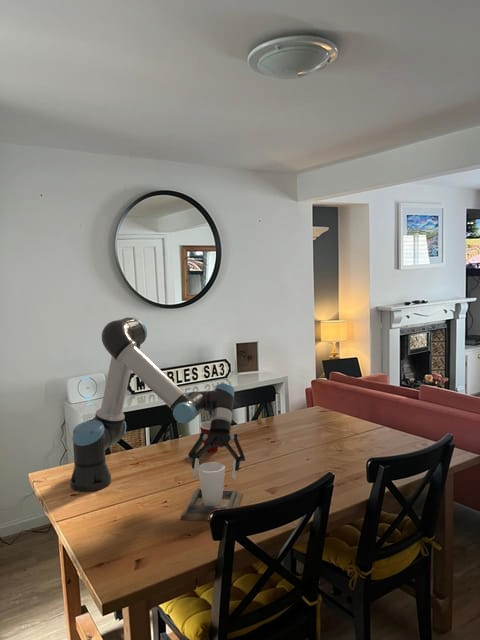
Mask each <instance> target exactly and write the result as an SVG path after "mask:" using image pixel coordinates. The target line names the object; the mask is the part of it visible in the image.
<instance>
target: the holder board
mask: <svg viewBox="0 0 480 640" xmlns="http://www.w3.org/2000/svg"><path fill="white" fill-rule="evenodd" d="M243 496H244V492H243V491H238V490H237V489H225V488H223V495H222V504H221V505H220V506H205V505H204V503H203V498H202V492H201V487H200V488H196V490H195V489H194V490H193V491H192V494H191V496H190V498H189V500H188V501H187V503H186V505H185V507H184V509H183V511H182V513H181V514H180V520H182V521H201V522H203V521H205V522H207V521H208V518H209V515H210V513H211V512H212V511H214V510H217V509H226V508H233V507H239V508H240V506H241V502H242V499H243ZM208 522H209V521H208Z"/></svg>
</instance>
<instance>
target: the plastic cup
mask: <svg viewBox="0 0 480 640" xmlns="http://www.w3.org/2000/svg"><path fill="white" fill-rule="evenodd" d="M210 424H211V420H209V421H202V422H200V423H199V428H200V433H203V434H206V435H208V434H209V431H210ZM207 441H208V438H207V439H206V440H205V441H203V443H202V444H203V446H204V445H205V444H206V442H207ZM218 450H219V447H214V446H212V447H211V448H209V449H208V450H207V451H206V452H207V453H214V452H217V451H218Z"/></svg>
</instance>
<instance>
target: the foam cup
mask: <svg viewBox="0 0 480 640" xmlns="http://www.w3.org/2000/svg"><path fill="white" fill-rule="evenodd" d="M225 475H226V466H225V464H223V463H222V462H218V461H207V462H203V463H202V464H199V465H198V472H197V476H198V479H199V485H200V489H201V492H202V498H203V503H204V505H205V506H220V505H221V504H222V495H223V489H224V484H225V483H224V482H225Z"/></svg>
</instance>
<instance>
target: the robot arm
mask: <svg viewBox="0 0 480 640" xmlns="http://www.w3.org/2000/svg"><path fill="white" fill-rule="evenodd" d="M147 336H148V331H147V328H146V326H145V323H144V322H143V321H142V320H141V319H139V318H136V317H125V318H121V319H118V320H112V321H110V322H108V323H107V324H106V325H105V326H104V328H103V329H102V332H101V343H102V344H103V347H104V349H106V350H105V351H107V353H109V355H110V356H111V359H110V362H109V368H108V373H107V378H106V380H105V381H106V382H105V387H104V392H103V395H102V396H103V397H102V403H101V407H100V408H99V409H97V410H96V412H95V416H94V419H92V420H87V421H85V422H84V421H83V422H80V423H79V424H76V426H75V427H73V430H72V447H73V449H72V450H73V462H74V467H73V471H72V473H71V478H70V488H71V489H72V490H74V491H76V492H85V493H87V492H94V491H98V490H102V489H103V488H104V489H105V488H106V487H108V486H109V485H110V484H111V483H112V476H111V473H110V469H109V467H108V464H107V461H106V460H107V459H106V450H107V449H109V448H110V447H112V446H113V445H115V444H116V443H118V442H120V441H121V439H122V438H124V436H125V434H126V433H127V432H126V431H127V422H126V421H125V417H126V416H125V413H124V412H123V409H124V405H125V400H126V395H127V390H128V387H129V381H130V376H131V372H132V373H133V374H134V375H136V377H138V378H139V379H140V380H141V381H142V382H143V383H144V384H145V386H147V387H148V388H149V389H150V390H151V391H152V392H153V393H154V394H155V395H156V396H157V397H158V398H159V399H160V400H162V402H163V403H164V404H166V405H167V406H168V407H169V408H170V409H171V411H172V415H173V418H174V419H175V421H176V422H177V423H179V424H188V423H190V422H192V421H193V420H194V419H195V418H196V417H197V416H199V415H200V414H201V413H202V412H205V411H211V416H210V417H211V418H210V421H211V424H210V431H209V434H208V435H206V434H203V433H202V432H200V434H199V438H198V439H197V440H196V442H195V444H194V445H193V447H191V449H190V451H189V452H188V453H187V455H188V457H189V459H190V460H191V461H192V462H191V468H192V469H193V473H192V477H193V479H194V480H197V478H198V477H197V476H198V466H199V465H200V460H199V459H200V458H201V457H202V456H203V455H204V454H205V453H206V452H207V450H208V449H209V448H211V447H212V446H214V447H218V448H224V447H225V448H226V449H227V451H228V452H229V453H230V455H231V456H232V457H233V463H232V472H231V480H232V481H233V482H235V481H236V475H237V472H238V471H239V470H240V466H241V465H240V463H241V462H245V461H246V458H245V454H244V451H243V449H242V447H241V444H240V442H239V436H238V434H237V433H234V435H231V426H232V418H233V408H234V402H235V389H234V386H233V385H231V384H229V383H228V382H227V383H225V382H222V383H219V384H216V386H215V387H214V390H213V389H212V390H203V391H199V390H198V391H194V390H193V391H189V392H184V391H183V389H181V388H180V387H179V386H178V385H177V384H176V383H175V382H174V381H173V380H171V378H170V377H169V376H167V374H166V373H165V372H163V371H162V370H161V369H160V368H159V367H158V366H157V365H156V364H155V363H154V362H153V361H152V360H151V359H150V358H149V357H148V356H146V354H145V353H144V352H142V351H141V349H140V348H141V345H142V344H143V343H144V342H145V341H146V339H147ZM207 438H208V441H207V442H206V444H205V445H204V443H203V441H205V440H206V439H207ZM230 441H232V442H234V443H235V446H236V449H237V451H238V452H237V453H239V455H238V454H237V453H236V451H235V450H234V448H232V445H230V443H229V442H230ZM202 445H203V446H202Z"/></svg>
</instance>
